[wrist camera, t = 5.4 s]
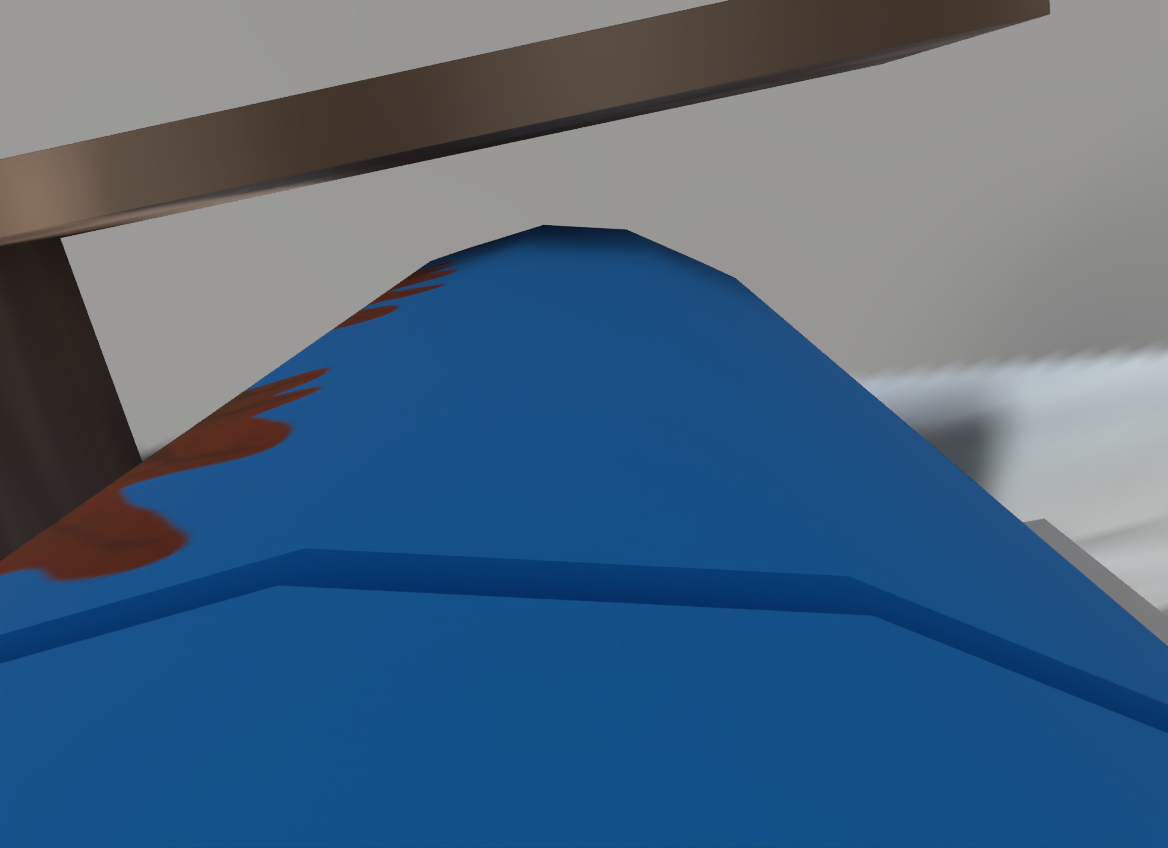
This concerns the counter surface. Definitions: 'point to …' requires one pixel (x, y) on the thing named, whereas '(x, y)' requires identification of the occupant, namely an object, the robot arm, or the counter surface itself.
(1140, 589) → the counter surface
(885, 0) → the wooden frame
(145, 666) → the thermos
